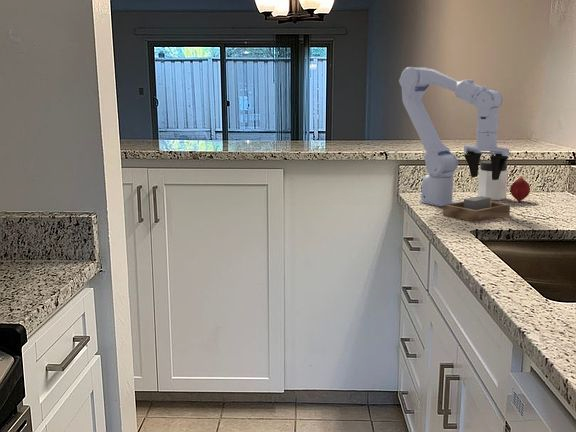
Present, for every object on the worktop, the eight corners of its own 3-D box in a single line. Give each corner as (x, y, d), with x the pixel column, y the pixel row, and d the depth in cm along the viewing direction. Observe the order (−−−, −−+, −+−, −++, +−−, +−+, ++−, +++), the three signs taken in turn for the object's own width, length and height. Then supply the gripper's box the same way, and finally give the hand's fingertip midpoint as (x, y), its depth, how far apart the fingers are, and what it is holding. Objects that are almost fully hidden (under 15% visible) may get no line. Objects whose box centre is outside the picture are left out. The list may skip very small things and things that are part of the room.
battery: (463, 212, 167) (463, 199, 166) (480, 209, 171) (481, 196, 170) (473, 214, 164) (474, 200, 163) (491, 211, 168) (491, 197, 167)
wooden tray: (443, 215, 168) (443, 204, 167) (476, 208, 176) (476, 198, 175) (475, 222, 158) (476, 211, 158) (509, 215, 166) (510, 204, 166)
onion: (530, 203, 182) (532, 177, 181) (511, 202, 183) (513, 177, 182) (527, 199, 188) (529, 175, 186) (508, 199, 189) (509, 175, 187)
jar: (497, 201, 186) (499, 164, 183) (473, 198, 192) (475, 162, 189) (510, 197, 192) (512, 161, 190) (486, 194, 198) (488, 159, 195)
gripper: (517, 132, 166) (514, 179, 169) (475, 130, 178) (473, 174, 181) (501, 134, 162) (498, 182, 165) (460, 131, 174) (458, 176, 177)
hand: (484, 178), depth 173 cm, fingers open, 7 cm apart
